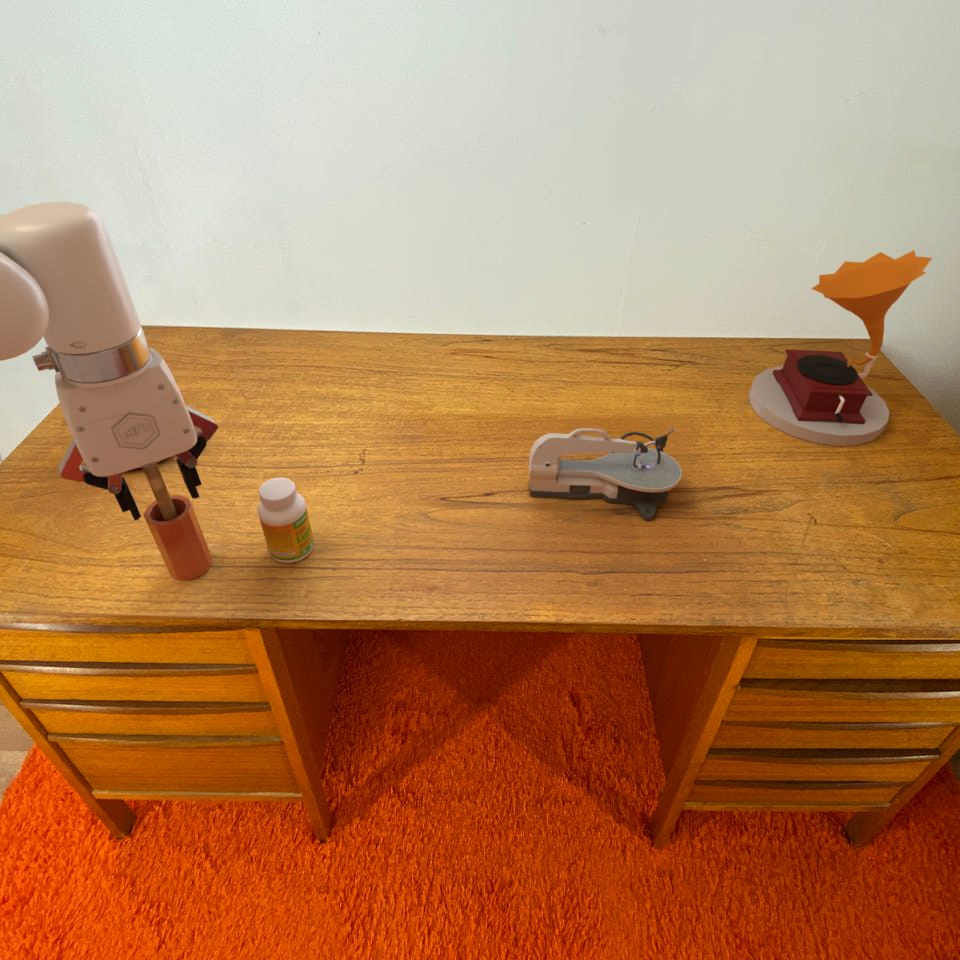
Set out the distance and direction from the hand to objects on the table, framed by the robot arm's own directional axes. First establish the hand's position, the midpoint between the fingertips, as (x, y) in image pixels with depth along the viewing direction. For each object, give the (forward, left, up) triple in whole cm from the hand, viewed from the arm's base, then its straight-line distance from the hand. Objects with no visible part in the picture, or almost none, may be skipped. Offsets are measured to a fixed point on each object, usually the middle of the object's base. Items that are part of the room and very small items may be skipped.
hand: (164, 500), depth 69 cm
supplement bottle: (+11, -4, -11) cm, 16 cm away
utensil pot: (0, 0, -10) cm, 10 cm away
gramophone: (+93, -21, -11) cm, 96 cm away
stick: (0, 0, -10) cm, 10 cm away
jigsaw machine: (+50, -17, -11) cm, 54 cm away
